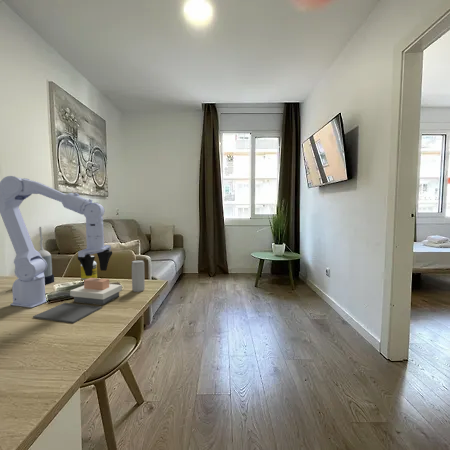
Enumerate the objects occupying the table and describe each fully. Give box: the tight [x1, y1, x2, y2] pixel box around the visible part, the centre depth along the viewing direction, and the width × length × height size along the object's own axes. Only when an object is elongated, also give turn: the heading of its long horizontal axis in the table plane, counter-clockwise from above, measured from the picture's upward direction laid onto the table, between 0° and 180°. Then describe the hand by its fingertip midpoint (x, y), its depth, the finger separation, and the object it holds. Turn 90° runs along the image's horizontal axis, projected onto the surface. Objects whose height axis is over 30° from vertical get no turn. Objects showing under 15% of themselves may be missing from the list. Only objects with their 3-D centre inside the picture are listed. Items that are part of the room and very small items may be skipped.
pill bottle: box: [80, 255, 98, 282], centre depth 121 cm, size 6×6×12 cm
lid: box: [69, 277, 123, 300], centre depth 99 cm, size 14×11×5 cm
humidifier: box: [37, 226, 55, 286], centre depth 119 cm, size 8×8×25 cm
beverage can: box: [131, 259, 146, 293], centre depth 109 cm, size 5×5×12 cm
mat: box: [32, 302, 103, 324], centre depth 87 cm, size 15×12×1 cm
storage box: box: [73, 291, 120, 306], centre depth 99 cm, size 12×9×4 cm
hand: (96, 272), depth 99 cm, fingers open, 7 cm apart
